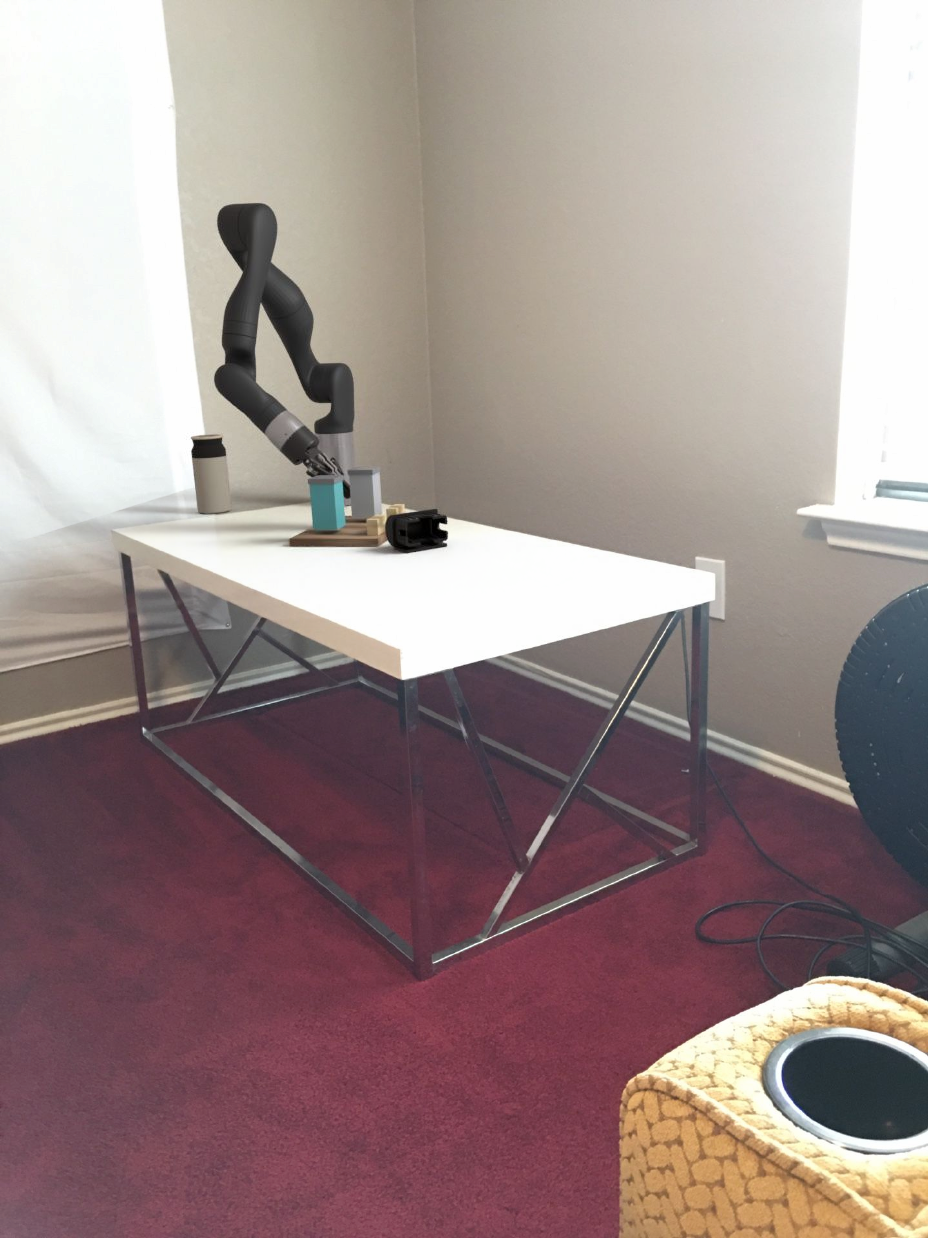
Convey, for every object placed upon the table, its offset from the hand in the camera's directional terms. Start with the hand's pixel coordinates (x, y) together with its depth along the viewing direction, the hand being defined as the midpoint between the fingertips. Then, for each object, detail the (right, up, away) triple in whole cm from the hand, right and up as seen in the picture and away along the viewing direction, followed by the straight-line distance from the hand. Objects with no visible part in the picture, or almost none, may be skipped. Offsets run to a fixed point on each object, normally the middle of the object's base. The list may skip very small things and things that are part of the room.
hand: (351, 495), depth 216 cm
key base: (+1, -8, -5) cm, 10 cm away
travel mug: (-36, 0, +32) cm, 48 cm away
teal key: (-3, -8, -11) cm, 14 cm away
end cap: (+15, -13, -21) cm, 29 cm away
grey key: (+3, -4, 0) cm, 5 cm away
